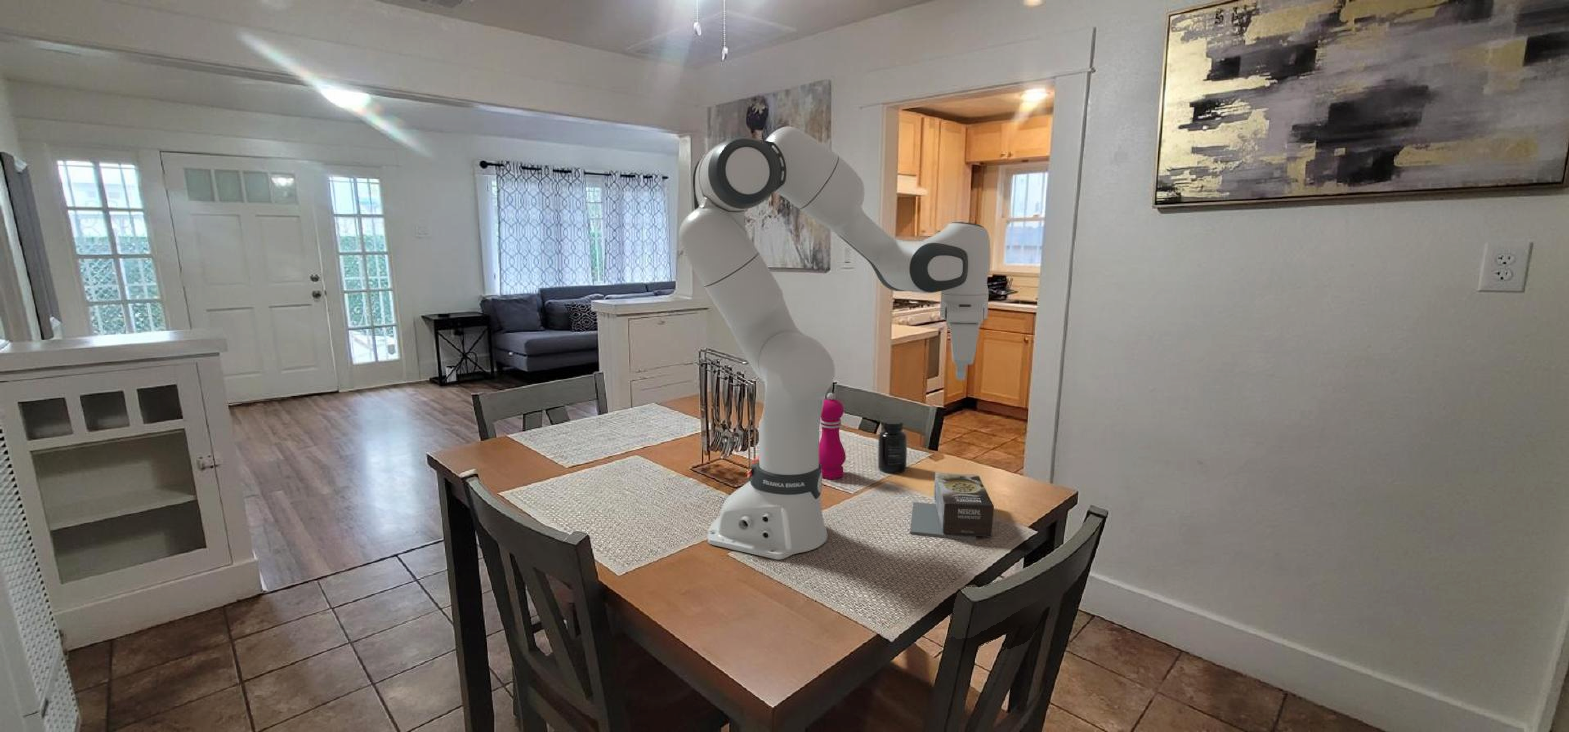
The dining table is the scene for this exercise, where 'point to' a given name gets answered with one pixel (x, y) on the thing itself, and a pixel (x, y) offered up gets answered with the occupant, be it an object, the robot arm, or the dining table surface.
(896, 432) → the supplement bottle
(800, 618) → the dining table surface
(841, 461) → the pepper mill
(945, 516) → the coffee box
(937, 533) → the mat
